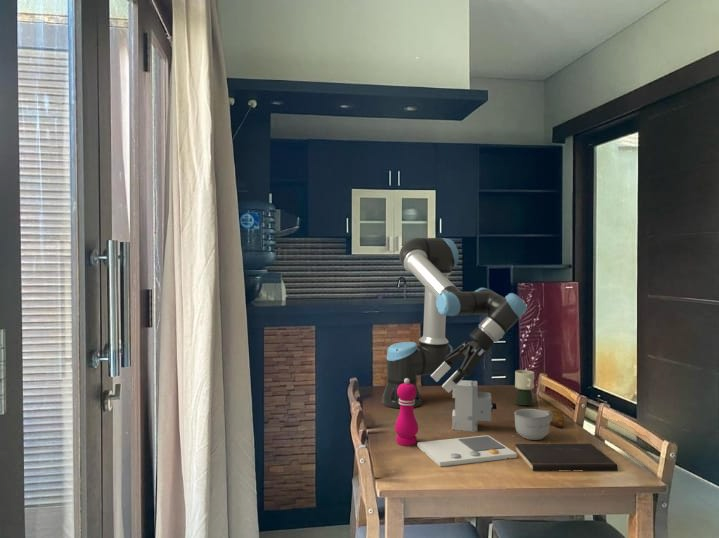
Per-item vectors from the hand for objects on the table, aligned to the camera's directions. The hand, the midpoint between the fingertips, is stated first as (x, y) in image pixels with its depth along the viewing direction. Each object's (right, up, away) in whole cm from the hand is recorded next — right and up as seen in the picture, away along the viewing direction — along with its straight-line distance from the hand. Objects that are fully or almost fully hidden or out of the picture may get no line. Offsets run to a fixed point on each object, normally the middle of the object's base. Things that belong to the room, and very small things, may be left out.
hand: (439, 384), depth 165 cm
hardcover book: (+33, -19, -13) cm, 41 cm away
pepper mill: (-10, -18, 0) cm, 21 cm away
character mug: (+39, -17, +41) cm, 60 cm away
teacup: (+32, -18, +6) cm, 37 cm away
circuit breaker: (+14, -18, +14) cm, 27 cm away
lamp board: (+7, -18, -8) cm, 21 cm away
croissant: (+43, -18, +20) cm, 51 cm away
